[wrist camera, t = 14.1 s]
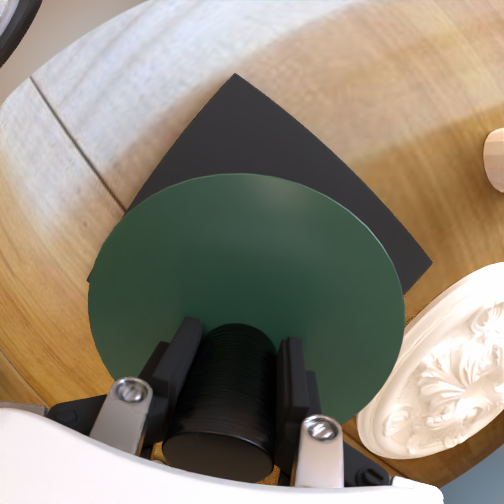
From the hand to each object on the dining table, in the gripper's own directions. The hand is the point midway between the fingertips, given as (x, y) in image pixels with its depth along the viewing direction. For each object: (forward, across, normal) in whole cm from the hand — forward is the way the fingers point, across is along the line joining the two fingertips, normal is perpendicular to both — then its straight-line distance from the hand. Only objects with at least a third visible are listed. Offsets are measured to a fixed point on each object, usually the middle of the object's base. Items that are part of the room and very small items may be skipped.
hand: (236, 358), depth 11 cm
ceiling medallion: (+10, -26, +8) cm, 29 cm away
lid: (+1, 0, 0) cm, 1 cm away
